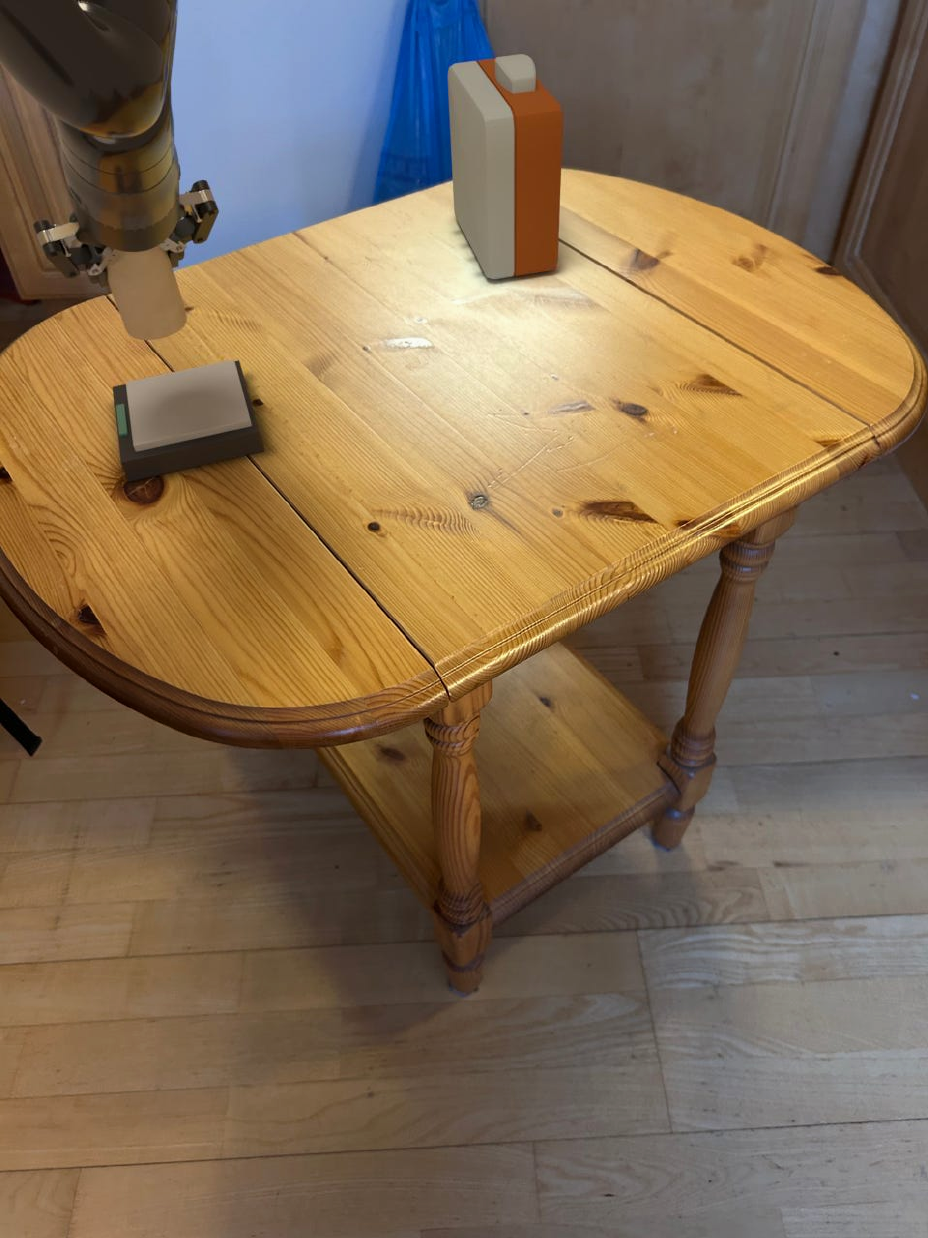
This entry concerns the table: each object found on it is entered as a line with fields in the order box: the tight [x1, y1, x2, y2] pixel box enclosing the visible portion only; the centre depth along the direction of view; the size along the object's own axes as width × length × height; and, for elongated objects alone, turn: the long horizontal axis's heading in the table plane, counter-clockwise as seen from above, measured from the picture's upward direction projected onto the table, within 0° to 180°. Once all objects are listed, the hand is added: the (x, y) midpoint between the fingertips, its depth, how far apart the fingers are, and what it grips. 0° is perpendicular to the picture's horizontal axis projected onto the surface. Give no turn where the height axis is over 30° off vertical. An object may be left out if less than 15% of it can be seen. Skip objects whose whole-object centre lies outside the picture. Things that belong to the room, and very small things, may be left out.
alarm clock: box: [447, 53, 564, 280], centre depth 105 cm, size 18×9×21 cm, turn 13°
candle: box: [105, 246, 188, 341], centre depth 77 cm, size 6×6×10 cm
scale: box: [112, 359, 265, 483], centre depth 89 cm, size 13×13×3 cm
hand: (135, 266), depth 79 cm, fingers closed on candle, 5 cm apart
